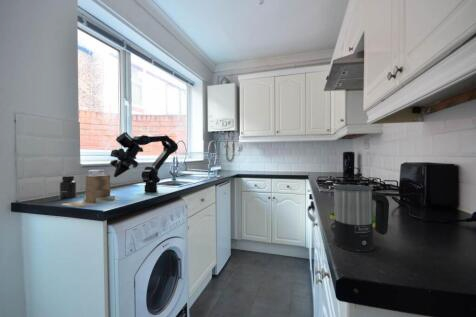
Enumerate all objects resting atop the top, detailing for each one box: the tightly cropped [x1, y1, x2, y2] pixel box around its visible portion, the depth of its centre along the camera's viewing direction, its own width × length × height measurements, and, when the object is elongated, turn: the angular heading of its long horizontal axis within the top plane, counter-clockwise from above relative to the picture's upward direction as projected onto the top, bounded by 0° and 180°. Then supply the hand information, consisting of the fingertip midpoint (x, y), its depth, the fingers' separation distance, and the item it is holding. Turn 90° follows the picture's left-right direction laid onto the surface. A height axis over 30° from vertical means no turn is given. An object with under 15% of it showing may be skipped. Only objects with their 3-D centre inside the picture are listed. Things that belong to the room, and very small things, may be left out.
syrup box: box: [88, 169, 105, 176], centre depth 126 cm, size 6×6×14 cm
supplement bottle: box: [59, 175, 77, 200], centre depth 114 cm, size 7×7×12 cm
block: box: [85, 174, 111, 203], centre depth 106 cm, size 8×6×12 cm
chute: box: [60, 195, 122, 208], centre depth 103 cm, size 19×14×3 cm
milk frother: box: [330, 184, 390, 252], centre depth 60 cm, size 14×16×15 cm
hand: (114, 176), depth 114 cm, fingers closed
